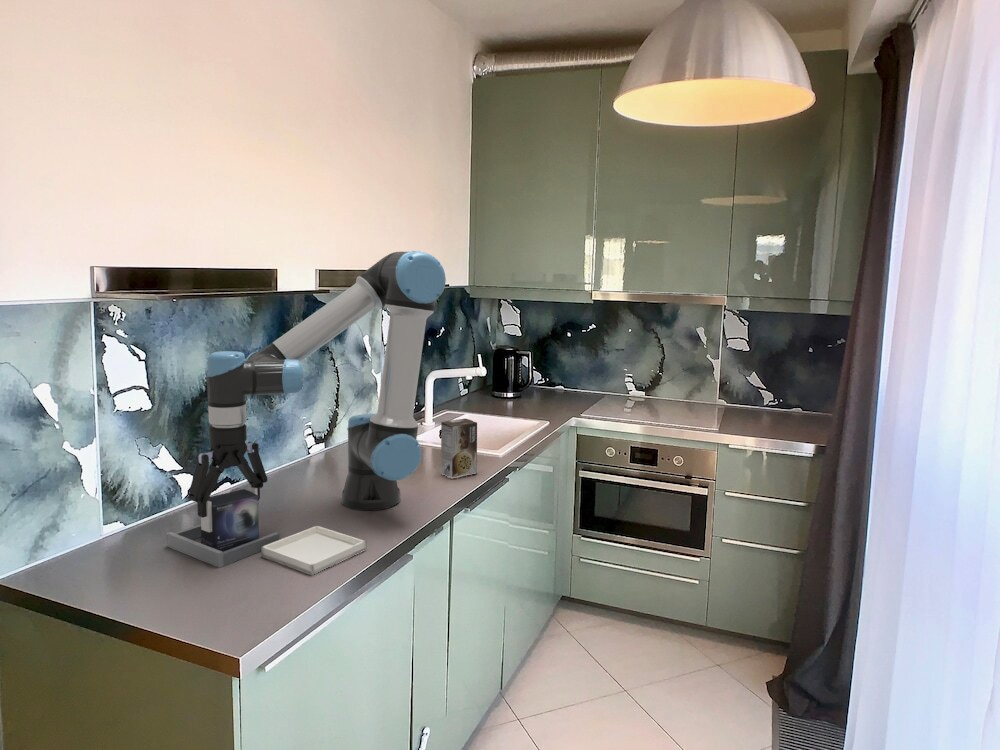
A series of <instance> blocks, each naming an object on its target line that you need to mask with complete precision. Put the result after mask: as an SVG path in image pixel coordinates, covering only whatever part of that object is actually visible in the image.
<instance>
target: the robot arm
mask: <svg viewBox="0 0 1000 750" xmlns="http://www.w3.org/2000/svg"><path fill="white" fill-rule="evenodd" d="M446 281H447V279H446V273H445V269H444V266H443V265H442V264H441V262H440V261H439V260H438V259H437V257H435V256H433V255H432V254H430V253H428V252H422V251H420V250H411V251H395V252H391V253H389V254H387V255H385V256H384V257H382V258H381V259H379V260H378V261H376V262H375V264H373V265H372V266H371V267H369V268H368V269H367V270H366V271H364V272H362V273H361V274H360V275H358V276H357V277H356V281H355V284H353V285H352V286H350V287H349V288H347V289H346V290H345V291H343V292H342V293H340V294H339V295H338V296H336V297H335V298H333V299H332V300H330V301H329V302H328V303H326V304H325V305H323V306H322V307H320V308H319V309H317V311H315V312H313V313H312V314H311V315H309V316H308V317H307V318H305V319H304V320H302V321H301V322H299V323H298V324H297V325H295V326H294V327H292V328H291V329H290V330H288V331H287V332H286V333H284V334H283V335H282V336H280V337H278V338H277V339H275V340H274V341H273V342H272V343H270V344H269V345H267V346H266V347H264V348H263V349H261V350H257V351H254V352H251V353H250V354H249V355H248V356H247V357H246V356H245V353H244V352H241V351H235V350H234V351H233V350H230V351H229V350H223V351H222V350H221V351H215V352H212V353H210V354H209V355H208V356H207V362H206V363H207V366H206V369H207V371H206V380H207V384H206V385H207V386H206V387H207V404H208V407H207V408H208V424H210V425H209V427H208V442H209V445H210V450H209V451H208V452H203V453H202V452H198V453H196V465H195V469H194V472H193V476H192V480H191V484H190V488H189V490H188V491H189V492H188V495H187V500H189V501H192V502H195V503H196V505H197V506H196V507H197V508H196V509H197V516H198V517H199V518H200V524H201V530H204V531H206V532H212V504H211V501H208V499H209V497H211V496H212V493H213V490H214V489H215V487H216V484H217V482H218V480H219V478H220V476H221V475H222V473H223V472H225V470H226V469H229V468H231V467H237V468H238V470H239V471H240V472H241V474H242V475H243V476H244V478H245V479H246V481H247V482H248V484H249V485H248V486H246V490H247V491H249V492H252V493H254V494H256V495H258V501H260V499H261V489H262V488H263V487H264V484H266V483H267V482H268V480H269V479H268V476H267V473H266V470H265V467H264V465H263V460H262V459H261V456H260V452H259V451H260V450H259V449H260V448H259V446H260V445H259V444H258V442H257V443H256V442H253V441H248V442H247V443H246V441H247V439H248V432H247V431H248V429H247V428H248V427H247V424H245V423H246V422H247V417H248V416H247V400H246V399H247V396H265V395H289V394H296V393H299V392H301V391H302V389H303V387H304V382H305V381H304V380H305V378H304V377H305V376H304V367H303V365H302V362H303V361H305V359H306V358H308V357H310V356H311V355H312V354H313V353H315V352H317V351H318V350H319V349H320V348H322V347H324V346H325V345H326V344H327V343H329V342H330V341H332V340H333V339H334V338H336V337H338V335H340V334H341V333H342V332H343V331H345V330H347V329H348V328H349V327H351V326H352V325H354V324H355V323H356V322H358V321H359V320H360V319H362V318H363V317H364V316H366V315H367V314H369V313H370V312H371V311H373V310H374V309H378V310H381V309H382V308H384V307H385V308H386V310H388V312H389V313H390V315H389V320H388V321H389V322H388V331H387V338H386V345H385V353H384V358H383V366H382V374H381V384H380V389H379V390H380V391H379V397H378V405H377V412H376V413H365V414H364V413H363V414H356V415H352V416H350V417H349V419H348V421H347V422H348V423H347V424H348V425H347V427H346V430H347V450H348V451H347V455H348V457H347V458H348V459H347V463H348V464H347V465H348V466H347V468H348V469H347V470H348V471H347V476H346V479H345V482H344V487H343V489H342V491H341V504H342V505H343V506H344V507H346V508H349V509H352V510H357V511H359V510H360V511H377V510H378V509H379V510H384V508H385V509H388V507H389V508H392V507H395V506H396V504H397V503H398V504H400V502H401V489H400V487H399V486H398V482H397V481H400V480H403V479H406V478H408V477H409V476H411V475H412V474H413V473H414V472H415V471H416V470H417V469H418V467H419V465H420V463H421V460H422V447H421V446H420V443H419V441H418V438H417V437H418V430H419V423H418V422H417V421H416V419H415V418H414V413H415V412H414V411H415V405H416V398H417V391H418V384H419V383H418V382H419V375H420V370H421V368H420V367H421V362H422V355H423V353H422V352H423V346H424V339H425V331H426V323H427V319H428V318H429V317H430V316H432V314H434V312H435V308H436V307H435V306H436V300H437V299H438V298H439V297H441V296H442V294H443V292H444V290H445V288H446ZM246 453H247V456H248V459H249V461H250V465H251V466H250V465H249V461H248V460H247V459H246V457H245V454H246ZM398 504H397V505H398ZM394 505H395V506H394ZM391 506H392V507H391ZM379 510H378V511H379Z"/></svg>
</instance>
